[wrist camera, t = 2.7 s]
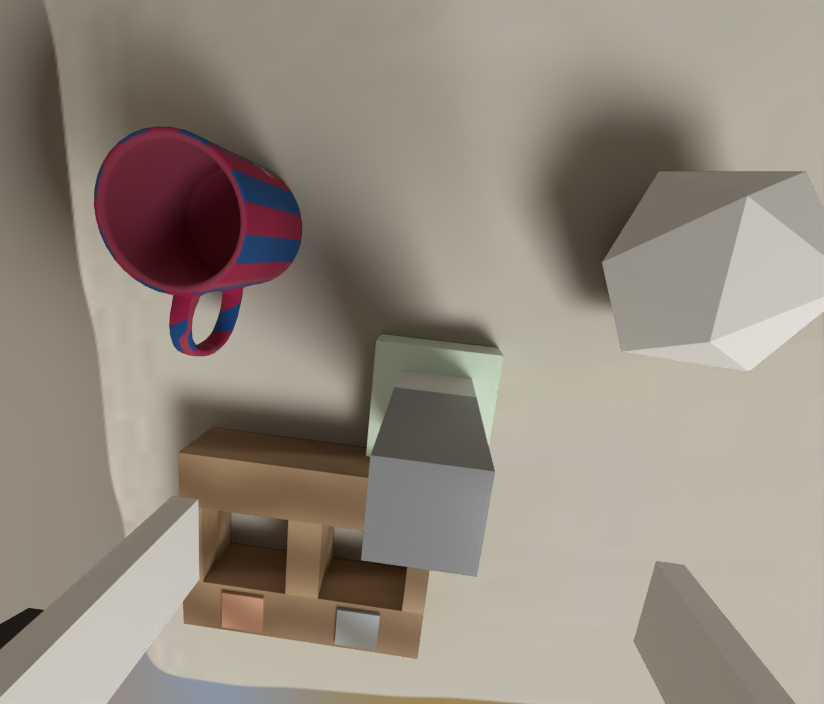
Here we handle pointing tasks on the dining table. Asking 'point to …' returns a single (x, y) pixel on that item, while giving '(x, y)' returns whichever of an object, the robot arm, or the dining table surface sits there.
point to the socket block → (293, 546)
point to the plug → (429, 477)
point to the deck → (432, 360)
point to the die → (718, 266)
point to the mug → (194, 224)
